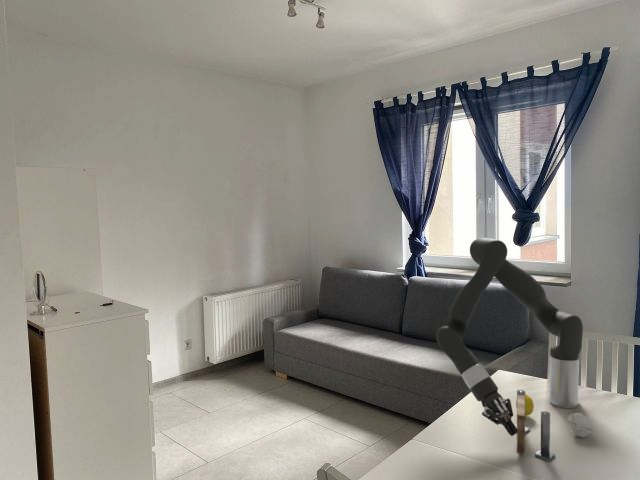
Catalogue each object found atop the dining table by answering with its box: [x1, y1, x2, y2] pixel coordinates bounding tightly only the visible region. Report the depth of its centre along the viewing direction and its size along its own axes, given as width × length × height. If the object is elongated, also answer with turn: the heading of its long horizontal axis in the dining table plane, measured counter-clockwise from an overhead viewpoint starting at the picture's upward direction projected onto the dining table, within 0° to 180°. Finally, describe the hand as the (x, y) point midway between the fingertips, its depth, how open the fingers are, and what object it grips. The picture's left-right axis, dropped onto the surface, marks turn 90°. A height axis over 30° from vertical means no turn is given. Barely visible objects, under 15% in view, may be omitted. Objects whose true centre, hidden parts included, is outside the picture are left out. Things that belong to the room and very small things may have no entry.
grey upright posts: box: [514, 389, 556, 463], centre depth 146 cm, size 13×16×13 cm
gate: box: [516, 395, 526, 455], centre depth 145 cm, size 15×2×11 cm, turn 157°
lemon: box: [515, 393, 535, 418], centre depth 163 cm, size 6×6×8 cm
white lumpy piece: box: [568, 412, 593, 438], centre depth 149 cm, size 6×7×7 cm
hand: (515, 434), depth 142 cm, fingers closed
